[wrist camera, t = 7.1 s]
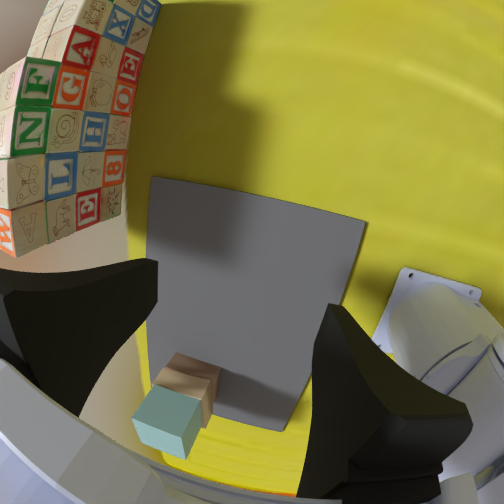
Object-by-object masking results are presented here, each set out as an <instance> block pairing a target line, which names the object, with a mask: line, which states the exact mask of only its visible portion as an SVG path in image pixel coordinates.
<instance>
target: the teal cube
mask: <svg viewBox="0 0 504 504" xmlns="http://www.w3.org/2000/svg"><path fill="white" fill-rule="evenodd" d="M131 418H132V421H133V423H134V426H135V428H136V430H137V433H138V435H139V438H140V440H141V442H142V443H144V444H146V445H149V446H151V447H153V448H156V449H158V450H161V451H163V452H166V453H168V454H171V455H174V456H176V457H179V458H182V459H185V460H186V459H187V456H188V454H189V452H190V450H191V448H192V446H193V443H194V441H195V439H196V437H197V435H198V433H199V430H200V428H201V426H202V423H201V404H200V399H197V398H194V397H190V396H187V395H184V394H181V393H178V392H175V391H172V390H169V389H166V388H164V387H161V386H158V385H155V384H154V386H153V387H152V389H151V390H150V392H149V393H148V394H147V396H146V397H145V399H144V400H143V402H142V403H141V405H140V406H139V408H138V409H137V410H136V412H135V413H134V415H133V416H132V417H131Z"/></svg>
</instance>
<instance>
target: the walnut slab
mask: <svg viewBox="0 0 504 504" xmlns="http://www.w3.org/2000/svg"><path fill="white" fill-rule="evenodd" d="M221 368H222V367H219V366H216V365H213V364H210V363H207V362H204V361H201V360H198V359H195V358H192V357H189V356H186V355H183V354H180V353H178V352H176V353H175V354H174V356H173V357H172V358H171V360H170V361H169V363H168V364H167V365H166V369H168V370H171V371H175V372H179V373H182V374H186V375H190V376H194V377H198V378H202V379H206V380H210V381H211V393H212V404H214V402H215V400H216V397H217V393H218V386H219V380H220V374H221Z"/></svg>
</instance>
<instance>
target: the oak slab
mask: <svg viewBox="0 0 504 504" xmlns="http://www.w3.org/2000/svg"><path fill="white" fill-rule="evenodd" d="M154 384H155V385H158V386H161V387H164V388H166V389H169V390H172V391H175V392H178V393H181V394H184V395H187V396H190V397H194V398H197V399H200V404H201V423H202V426H201V427H202V428H206V427H207V424H208V422H209V420H210V417H211V415H212V413H213V404H212V393H211V381H210V380H206V379H202V378H198V377H194V376H190V375H186V374H182V373H179V372H175V371H171V370H168V369H165V368H162V370H161V371H160V373H159V374H158V375H157V377H156V378H155V380H154V381H153V382H152V384H151V385H152V387H153V386H154Z"/></svg>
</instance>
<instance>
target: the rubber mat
mask: <svg viewBox="0 0 504 504" xmlns="http://www.w3.org/2000/svg"><path fill="white" fill-rule="evenodd" d="M365 223H366V222H365V221H363V220H359V219H355V218H352V217H348V216H344V215H340V214H337V213H333V212H329V211H325V210H321V209H317V208H313V207H309V206H305V205H300V204H296V203H292V202H287V201H283V200H279V199H274V198H270V197H265V196H260V195H256V194H251V193H246V192H241V191H236V190H231V189H226V188H220V187H215V186H210V185H204V184H198V183H193V182H187V181H181V180H174V179H168V178H162V177H155V176H152V178H151V187H150V198H149V209H148V223H147V242H146V258H148V259H152V260H156V261H158V302H157V304H156V305H155V307H154V309H153V310H152V312H151V313H150V315H149V316H148V317H147V319H146V327H147V345H148V359H149V370H150V380H151V384H152V382H153V381H154V380H155V378H156V377H157V375H158V374H159V373H160V371H161V370H162V368H165V369H166V365H167V364H168V363H169V361H170V360H171V358H172V357H173V356H174V354H175V353H176V352H178V353H180V354H183V355H186V356H189V357H192V358H195V359H198V360H201V361H204V362H207V363H210V364H213V365H216V366H219V367H222V368H221V374H220V380H219V386H218V393H217V397H216V400H215V402H214V404H213V413H212V414H213V415H216V416H220V417H223V418H226V419H230V420H233V421H237V422H240V423H244V424H248V425H252V426H256V427H260V428H264V429H269V430H273V431H278V432H282V430H283V428H284V426H285V425H286V423H287V421H288V419H289V417H290V415H291V413H292V411H293V409H294V407H295V405H296V403H297V401H298V399H299V397H300V395H301V393H302V391H303V389H304V387H305V385H306V383H307V381H308V378H309V376H310V374H311V372H312V355H313V346H314V341H315V339H316V336H317V333H318V331H319V328H320V325H321V322H322V320H323V317H324V314H325V311H326V308H327V305H328V303H331V304H336V305H339V304H340V301H341V298H342V295H343V292H344V290H345V287H346V284H347V281H348V278H349V275H350V272H351V269H352V266H353V263H354V260H355V257H356V253H357V250H358V247H359V243H360V240H361V237H362V233H363V230H364V226H365ZM151 389H152V385H151Z"/></svg>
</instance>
